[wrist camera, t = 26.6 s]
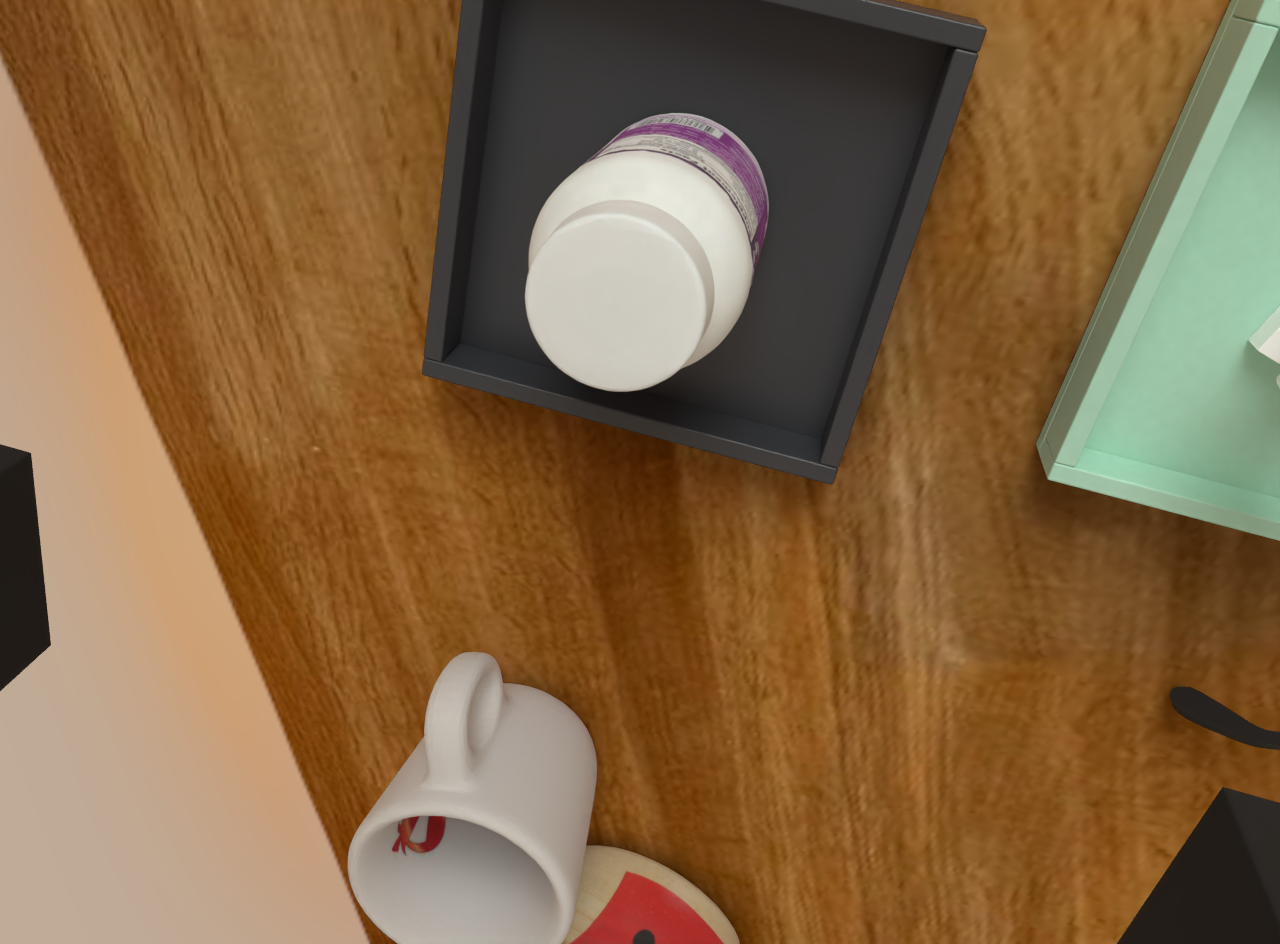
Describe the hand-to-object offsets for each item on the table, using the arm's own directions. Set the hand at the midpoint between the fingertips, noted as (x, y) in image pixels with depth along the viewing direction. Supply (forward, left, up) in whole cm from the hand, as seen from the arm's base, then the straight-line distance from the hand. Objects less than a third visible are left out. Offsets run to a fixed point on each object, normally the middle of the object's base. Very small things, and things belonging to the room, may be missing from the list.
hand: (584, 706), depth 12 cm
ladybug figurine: (+30, +3, -23) cm, 38 cm away
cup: (+21, -4, -23) cm, 31 cm away
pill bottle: (0, -2, -22) cm, 22 cm away
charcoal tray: (0, -2, -22) cm, 22 cm away
